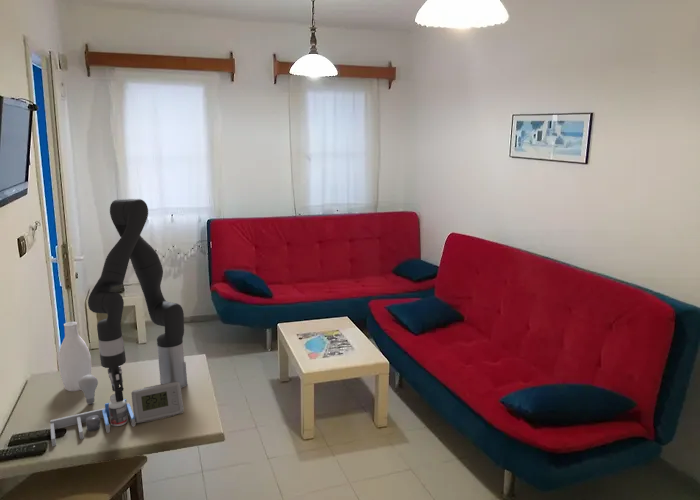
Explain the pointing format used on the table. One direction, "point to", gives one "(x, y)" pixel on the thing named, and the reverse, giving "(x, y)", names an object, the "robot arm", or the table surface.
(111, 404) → the pill bottle
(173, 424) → the table surface
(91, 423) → the pronged rack
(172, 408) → the digital clock
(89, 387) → the lightbulb
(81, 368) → the bottle
